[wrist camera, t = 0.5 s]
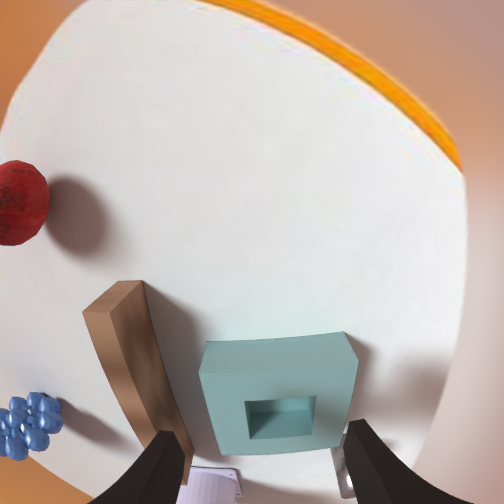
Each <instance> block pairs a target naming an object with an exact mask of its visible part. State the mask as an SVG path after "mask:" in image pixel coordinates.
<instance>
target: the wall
mask: <svg viewBox="0 0 504 504" xmlns="http://www.w3.org/2000/svg"><path fill="white" fill-rule="evenodd" d="M82 313H83V316H84V319H85V322H86V325H87V328H88V331H89V334H90V337H91V340H92V342H93V345H94V348H95V350H96V353H97V355H98V358H99V360H100V363H101V365H102V368H103V370H104V372H105V375H106V377H107V379H108V381H109V384H110V386H111V388H112V390H113V392H114V394H115V396H116V398H117V400H118V402H119V404H120V406H121V408H122V410H123V412H124V414H125V416H126V418H127V420H128V422H129V423H130V425H131V427H132V429H133V430H134V432H135V434H136V436H137V437H138V439H139V441H140V442H141V444H142V446H143V447H144V449H146V447H147V446H148V445H149V443H150V442H151V441H152V439H153V438H154V437H155V435H156V434H157V433H158V431H159V430H165V431H173V432H174V434H175V436H176V438H177V440H178V442H179V444H180V446H181V448H182V450H183V452H184V454H185V464H184V473H183V478H182V482H181V485H184V486H187V484H188V479H189V474H190V469H191V464H192V459H193V454H194V448H193V446H192V444H191V441H190V439H189V436H188V434H187V431H186V429H185V426H184V424H183V421H182V419H181V416H180V413H179V411H178V408H177V405H176V402H175V399H174V397H173V394H172V391H171V388H170V385H169V382H168V379H167V376H166V372H165V369H164V366H163V363H162V359H161V356H160V352H159V349H158V345H157V342H156V338H155V334H154V331H153V327H152V323H151V319H150V315H149V310H148V306H147V302H146V297H145V293H144V288H143V283H142V280H135V281H117V282H116V283H115V284H114V285H113V286H111V287H110V288H109V289H108V290H107V291H105V292H104V293H103V294H102V295H101V296H100V297H98V298H97V299H96V300H95V301H94V302H93V303H92V304H90V305H89V306H88V307H87V308H86V309H85V310H84V311H82Z"/></svg>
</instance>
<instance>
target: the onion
mask: <svg viewBox="0 0 504 504" xmlns="http://www.w3.org/2000/svg"><path fill="white" fill-rule="evenodd" d="M49 206H50V195H49V188H48V185H47V182H46V180H45V177H44V176H43V175H42V174H41V173H40V172H39V171H38V170H37V169H36V168H35V167H34V165H31V164H28V163H25V162H22V161H19V160H14V161H9V162H6V163H4V164H2V165H0V245H4V246H15V245H20V244H23V243H24V242H26V241H27V240H29V239H30V238H32V237H33V236H35V235H36V234H37V233H38V231H39V230H40V228H41V227H42V225H43V223H44V222H45V220H46V219H47V214H48V210H49Z"/></svg>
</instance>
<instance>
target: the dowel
mask: <svg viewBox="0 0 504 504" xmlns="http://www.w3.org/2000/svg"><path fill="white" fill-rule="evenodd" d="M346 434H347V433H346ZM346 434H343V435H342V438H341V442H340V445H339V446H337V447H331V448H330V450H331V454H332V458H333V463H334V467H335V471H336V476H337V480H338V485H339V489H340V494H341V497H342V498H344V499H348V498H354V497H356V495H355V492H354V489H353V486H352V483H351V480H350V476H349V473H348V470H347V467H346V462H345V457H344V451H343V445H344V441H345V438H346Z"/></svg>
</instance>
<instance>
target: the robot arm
mask: <svg viewBox="0 0 504 504" xmlns="http://www.w3.org/2000/svg"><path fill="white" fill-rule="evenodd" d="M343 451H344V457H345V462H346V467H347V470H348V473H349V476H350V480H351V483H352V486H353V489H354V492H355V495H356V498H357V501H358V504H473V503H470V502H467V501H464V500H461V499H459V498H456V497H454V496H452V495H449V494H448V493H446V492H444V491H442V490H440V489H438V488H436V487H434V486H433V485H431V484H429V483H428V482H427V481H425V480H424V479H422V478H421V477H420V476H418V475H417V474H416V473H414V472H413V471H412V470H411V469H410V468H408V467H407V466H406V465H405V464H404V463H403V462H402V461H401V460H400V459H399V458H398V457H397V456H396V455H395V454H394V453H393V452H392V451H391V450H390V449H389V448H388V447H387V446H386V445H385V444H384V443H383V441H382V440H381V439H380V438H379V437H378V436H377V434H376V433H375V432H374V431H373V429H372V428H371V427H370V426H369V424H368V423H367V422H366V420H365V419H360V420H356V421H351V422H349V426H348V430H347V434H346V438H345V441H344V445H343ZM184 464H185V454H184V452H183V450H182V448H181V446H180V444H179V442H178V440H177V438H176V436H175V434H174V432H173V431H165V430H159V431H158V433H157V434H156V435H155V437H154V438H153V439H152V441H151V442H150V443H149V445H148V446H147V447H146V449H145V450H144V451H143V453H142V454H141V455H140V456H139V457H138V459H137V460H136V461H135V462H134V463H133V465H132V466H131V467H130V468H129V469H128V470H127V471H126V472H125V473H124V474H123V475H122V476H121V477H120V478H119V479H118V480H117V481H116V482H115V483H114V484H113V485H112V486H111V487H110V488H108V489H107V490H106V491H105V492H103V493H102V494H101V495H99V496H98V497H97V498H95V499H94V500H92V501H91V502H89V503H87V504H235V498H242V497H243V494H242V491H241V488H240V484H239V481H238V477H237V474H236V471H235V470H233V469H212V468H198V467H191V469H190V474H189V479H188V484H187V486H184V485H181V482H182V478H183V473H184Z"/></svg>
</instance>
